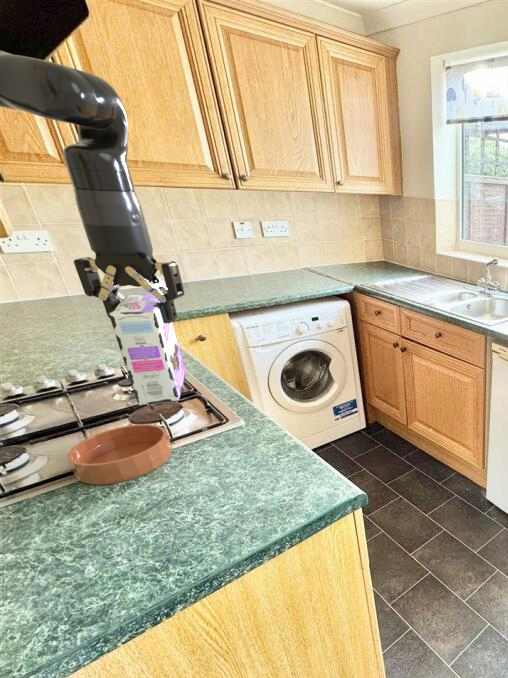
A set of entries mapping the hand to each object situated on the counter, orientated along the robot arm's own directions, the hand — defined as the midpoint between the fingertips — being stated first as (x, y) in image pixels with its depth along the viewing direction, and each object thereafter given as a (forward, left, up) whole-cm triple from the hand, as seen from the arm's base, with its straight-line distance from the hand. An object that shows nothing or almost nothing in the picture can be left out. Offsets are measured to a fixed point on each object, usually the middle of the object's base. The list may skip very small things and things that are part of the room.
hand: (144, 321), depth 73 cm
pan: (-10, -2, -28) cm, 30 cm away
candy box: (0, 0, -13) cm, 13 cm away
